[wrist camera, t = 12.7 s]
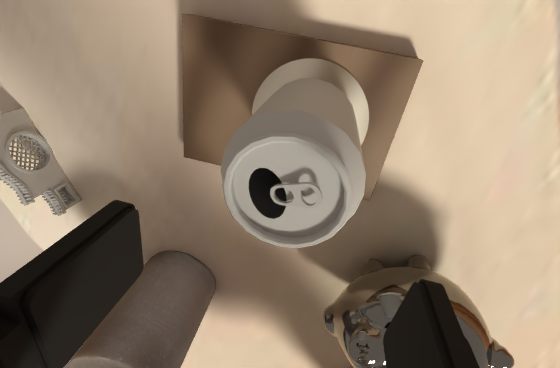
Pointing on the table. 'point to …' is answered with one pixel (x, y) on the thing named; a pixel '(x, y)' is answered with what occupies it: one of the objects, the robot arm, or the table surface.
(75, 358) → the pillar candle
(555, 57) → the table surface
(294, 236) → the can
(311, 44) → the board
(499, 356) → the piggy bank
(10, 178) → the lattice window wall
